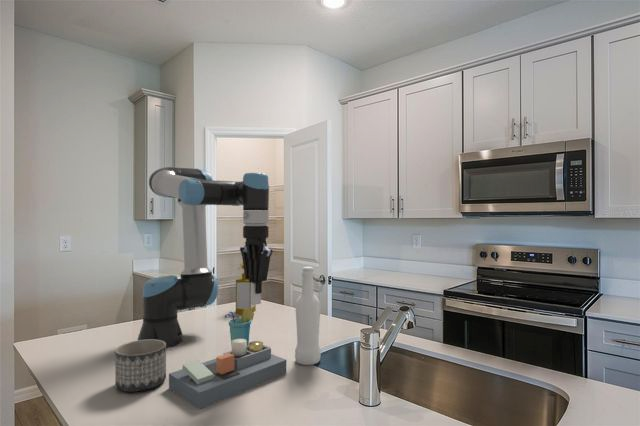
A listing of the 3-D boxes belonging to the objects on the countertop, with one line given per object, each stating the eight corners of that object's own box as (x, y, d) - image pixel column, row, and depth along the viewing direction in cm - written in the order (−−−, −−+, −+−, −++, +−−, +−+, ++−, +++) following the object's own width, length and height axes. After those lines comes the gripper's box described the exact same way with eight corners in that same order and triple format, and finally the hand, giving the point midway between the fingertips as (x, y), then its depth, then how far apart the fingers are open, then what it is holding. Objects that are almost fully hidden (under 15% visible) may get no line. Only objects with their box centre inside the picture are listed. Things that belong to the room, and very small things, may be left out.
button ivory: (228, 353, 110) (228, 341, 110) (240, 349, 113) (240, 337, 113) (237, 357, 107) (237, 344, 107) (249, 353, 110) (249, 340, 110)
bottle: (301, 368, 117) (301, 269, 117) (291, 358, 124) (291, 266, 124) (325, 363, 121) (325, 267, 121) (313, 354, 128) (313, 264, 128)
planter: (130, 374, 112) (130, 338, 112) (173, 375, 112) (173, 339, 112) (105, 395, 100) (105, 355, 100) (153, 395, 99) (153, 355, 99)
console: (168, 388, 103) (168, 363, 103) (253, 359, 124) (253, 338, 124) (199, 409, 93) (199, 381, 92) (286, 373, 113) (286, 350, 113)
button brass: (245, 355, 115) (245, 343, 115) (257, 351, 118) (257, 340, 118) (254, 358, 112) (254, 346, 112) (265, 354, 115) (265, 343, 115)
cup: (235, 362, 121) (235, 314, 121) (215, 358, 125) (215, 312, 124) (259, 347, 134) (259, 305, 134) (241, 344, 137) (241, 302, 137)
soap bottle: (231, 316, 174) (231, 264, 174) (241, 309, 186) (241, 261, 186) (246, 317, 172) (246, 265, 172) (255, 310, 185) (255, 261, 185)
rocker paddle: (182, 369, 102) (182, 364, 102) (197, 364, 105) (198, 359, 105) (197, 384, 97) (198, 379, 96) (212, 378, 100) (213, 373, 100)
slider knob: (216, 371, 103) (216, 357, 103) (229, 367, 106) (229, 353, 106) (221, 374, 101) (221, 359, 101) (234, 370, 104) (234, 355, 104)
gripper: (232, 224, 116) (232, 302, 117) (259, 226, 107) (259, 310, 108) (252, 224, 122) (252, 298, 122) (279, 225, 113) (279, 305, 113)
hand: (255, 303), depth 115 cm, fingers closed
